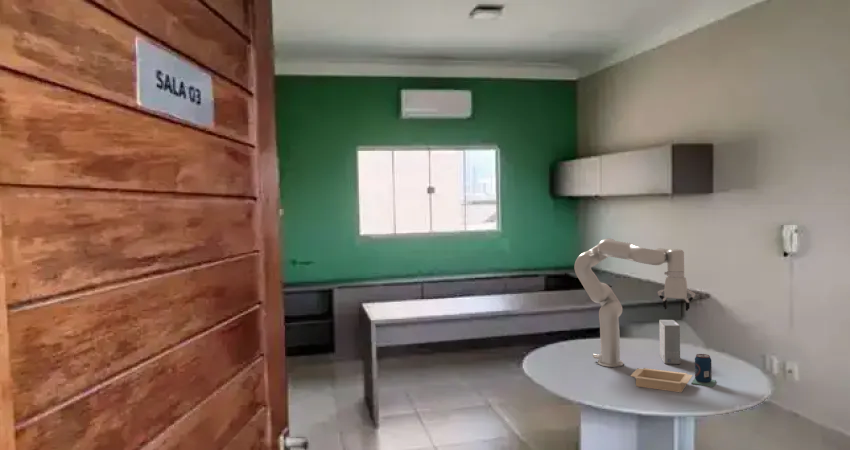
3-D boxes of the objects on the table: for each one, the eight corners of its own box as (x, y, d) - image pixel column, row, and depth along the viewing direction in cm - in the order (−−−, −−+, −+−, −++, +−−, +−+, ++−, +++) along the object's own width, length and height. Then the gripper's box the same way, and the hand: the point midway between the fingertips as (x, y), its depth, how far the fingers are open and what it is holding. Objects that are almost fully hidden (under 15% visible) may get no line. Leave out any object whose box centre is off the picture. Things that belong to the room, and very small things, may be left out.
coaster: (691, 384, 275) (691, 382, 275) (694, 378, 283) (694, 377, 283) (713, 386, 270) (713, 385, 270) (716, 381, 278) (716, 380, 278)
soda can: (692, 379, 280) (692, 353, 280) (707, 378, 280) (707, 353, 279) (698, 383, 273) (698, 357, 273) (714, 383, 273) (714, 357, 272)
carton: (629, 386, 275) (629, 376, 274) (638, 376, 289) (638, 367, 289) (686, 394, 261) (686, 384, 261) (693, 383, 276) (693, 374, 275)
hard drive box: (680, 364, 306) (680, 325, 305) (664, 364, 308) (664, 325, 307) (674, 356, 321) (673, 319, 321) (659, 356, 323) (658, 319, 322)
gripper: (655, 274, 295) (656, 309, 296) (693, 276, 286) (694, 312, 286) (658, 273, 301) (659, 307, 302) (696, 274, 292) (696, 309, 293)
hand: (676, 309), depth 294 cm, fingers open, 9 cm apart
